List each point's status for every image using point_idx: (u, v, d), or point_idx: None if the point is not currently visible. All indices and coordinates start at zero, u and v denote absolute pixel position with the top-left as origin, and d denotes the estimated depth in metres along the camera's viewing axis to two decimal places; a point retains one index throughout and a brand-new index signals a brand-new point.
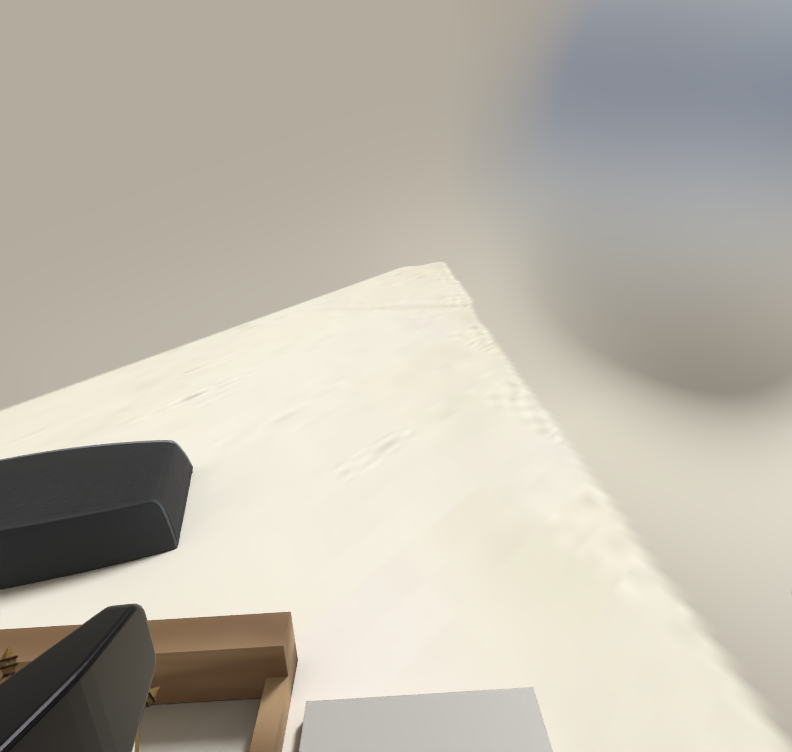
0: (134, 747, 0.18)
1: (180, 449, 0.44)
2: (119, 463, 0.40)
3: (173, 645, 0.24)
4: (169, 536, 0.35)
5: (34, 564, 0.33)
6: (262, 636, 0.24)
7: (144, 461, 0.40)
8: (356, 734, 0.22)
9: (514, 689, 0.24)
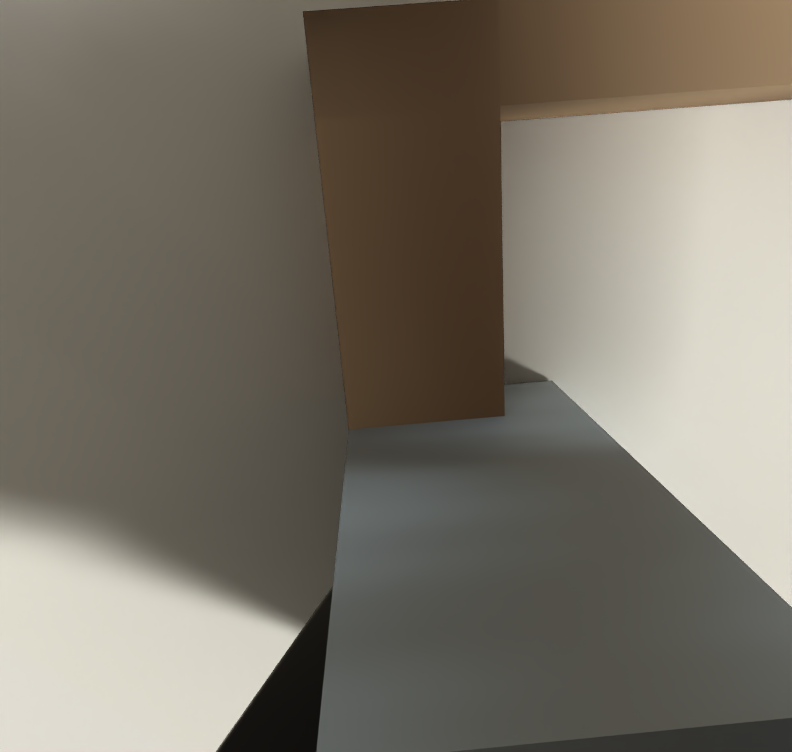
0: None
1: None
2: None
3: None
4: None
5: None
6: None
7: None
8: None
9: None
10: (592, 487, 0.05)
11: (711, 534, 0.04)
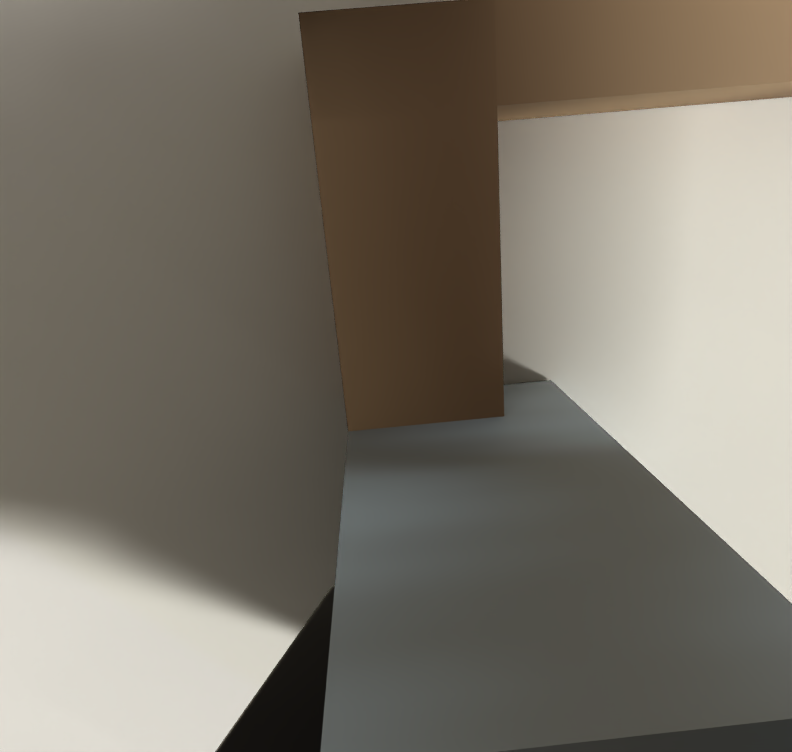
0: None
1: None
2: None
3: None
4: None
5: None
6: None
7: None
8: None
9: None
10: (593, 487, 0.05)
11: (713, 533, 0.04)
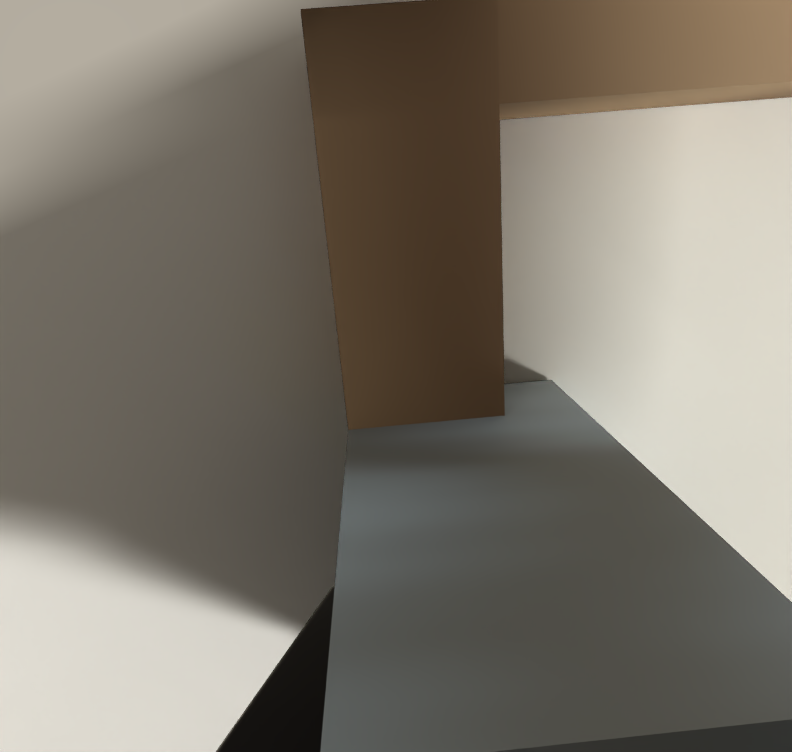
0: None
1: None
2: None
3: None
4: None
5: None
6: None
7: None
8: None
9: None
10: (593, 486, 0.05)
11: (714, 533, 0.04)
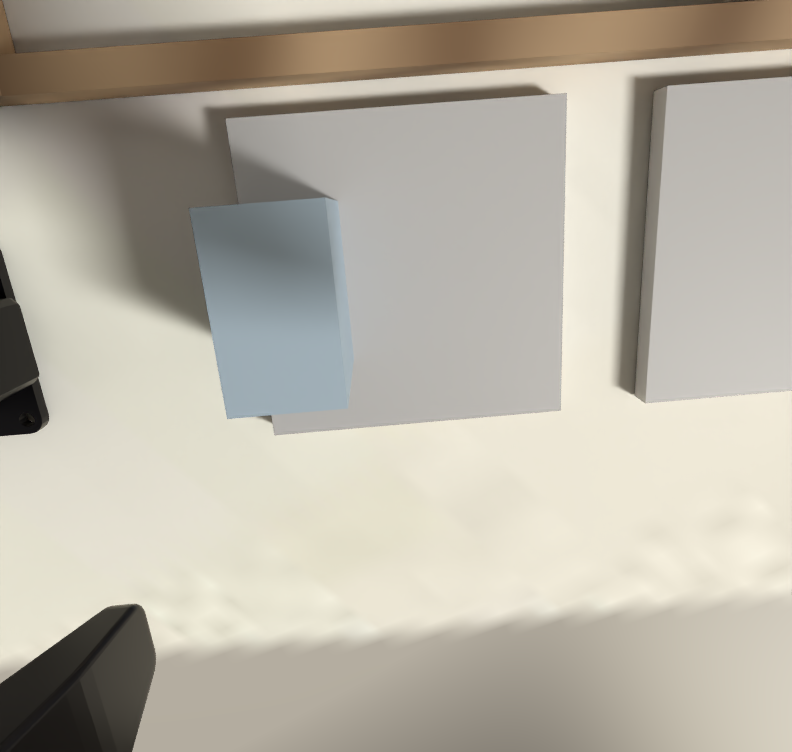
0: None
1: None
2: None
3: None
4: None
5: None
6: None
7: None
8: None
9: None
10: None
11: None
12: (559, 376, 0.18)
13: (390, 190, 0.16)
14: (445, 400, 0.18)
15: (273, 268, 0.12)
